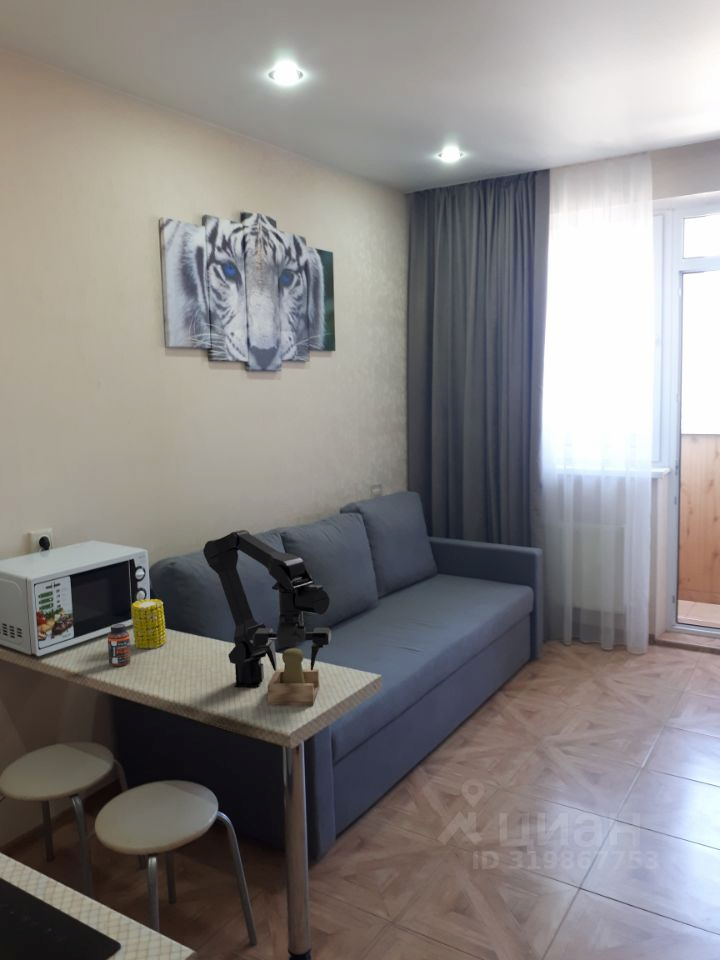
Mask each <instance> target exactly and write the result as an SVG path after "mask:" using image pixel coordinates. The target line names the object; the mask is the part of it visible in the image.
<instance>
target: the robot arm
mask: <svg viewBox="0 0 720 960" xmlns="http://www.w3.org/2000/svg"><path fill="white" fill-rule="evenodd" d="M202 550H203V556H204V558H205V560H206V562H207V564H208V567H210V569H212V571H214V572H215V573H216V574H217V576H218V578H219V580H220V583H221V586H222V589H223V593H224V595H225V597H226V601H227V604H228V607H229V610H230V612H231V616H232V619H233V623H234V624H235V629H234V634H233V641H234V647H233V648H232V650H231V651H230V652H229V653H228V659H229V663H230V664H234V665H235V666H234V667H235V669H234V670H235V683H234V688H235V687H236V688H241V687H242V688H243V687H246V688H247V687H253V688H257V687H260V685H261V683H262V682H263V681H264V679H265V674H264V672H265V671H264V669H265V667H264V663H262V659H263V658H266V657H267V658H268V659H269V662H270V665H271V666H272V669H273V671H274V672H275V671H276V670H277V666H278V665H277V654H276V645H275V641H276V643H277V647H278V648H284V647H285V648H286V647H290V648H296V647H297V646H298V642H301V641H312V645H311V648H310V649H311V654H310V656H311V657H310V670H311V671H312V670H313V669H314V668H315V663H316V659H317V656H318V652H319V650H320V649H323V648H325V646H328V645H329V644H330V641H331V639H332V631H331V629H330V628H329V627H314V629H313V631H307V629H306V626H305V625H304V613H307V614H313V615H321V616H322V615H323V614H325V613H326V612H327V611H328V609H329V607H330V597H329V595H328V592H327V591H325V590H324V586H323V585H319V584H317V585H315V581H314V579H313V577H312V575H311V574H310V573H309V570H308V569H307V566H306V565H305V562H304V560H303V559H302V558H301V557H300V556H297V555H294V554H291V553H288V552H281V551H279V550H277V549H275V548H274V547H271V546H270V545H268V544H266V543H265V542H263V541H262V540H260V539H259V538H256V537H255V536H254V535H252V534H250V531H248V530H245V529H241V530H237V531H232V532H230V533H229V534H227V535H225V536H222V537H220V538H217V539H212V540H208V541H206V543H205V545H204V547H203V549H202ZM239 551H241V552H242V553H243V554H245V555H247V556H248V557H250V558H251V559H253V560H254V561H255V562H258V563H259V564H261V565H262V566H264V567H265V568H266V569H267V571H268V575H269V576H271V577H272V578H273V580H275V581H276V582H275V584H273V585H272V586H271V589H272V590H274V591H278V609H279V611H278V612H279V613H278V614H279V615H278V617H279V619H278V620H279V621H278V624H277V630H276V631H274V630H273V628H272V627H267V628H266V625H265V623H264V622H262V623H259V622H258V621H256V620H255V618H254V615H253V612H252V609H251V607H250V603H249V600H248V598H247V595H246V592H245V589H244V586H243V583H242V580H241V577H240V575H239V571H238V569H237V568H238V567H237V566H238V560H239V553H238V552H239Z"/></svg>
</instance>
